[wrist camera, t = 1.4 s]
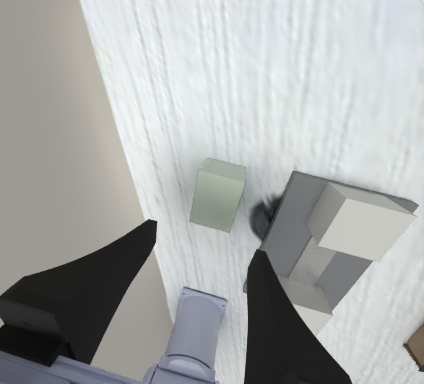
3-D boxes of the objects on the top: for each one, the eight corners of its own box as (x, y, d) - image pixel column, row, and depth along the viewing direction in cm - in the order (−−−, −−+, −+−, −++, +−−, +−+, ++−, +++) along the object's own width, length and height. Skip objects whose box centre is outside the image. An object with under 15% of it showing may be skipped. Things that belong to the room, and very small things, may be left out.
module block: (232, 209, 24) (229, 232, 20) (199, 200, 24) (189, 221, 20) (245, 167, 22) (245, 182, 17) (208, 157, 22) (199, 170, 17)
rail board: (324, 310, 29) (328, 319, 27) (243, 286, 29) (243, 294, 28) (411, 200, 20) (422, 206, 19) (293, 170, 21) (296, 174, 19)
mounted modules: (304, 310, 28) (312, 339, 24) (265, 298, 28) (268, 326, 25) (385, 196, 19) (417, 216, 16) (327, 181, 20) (346, 198, 16)
